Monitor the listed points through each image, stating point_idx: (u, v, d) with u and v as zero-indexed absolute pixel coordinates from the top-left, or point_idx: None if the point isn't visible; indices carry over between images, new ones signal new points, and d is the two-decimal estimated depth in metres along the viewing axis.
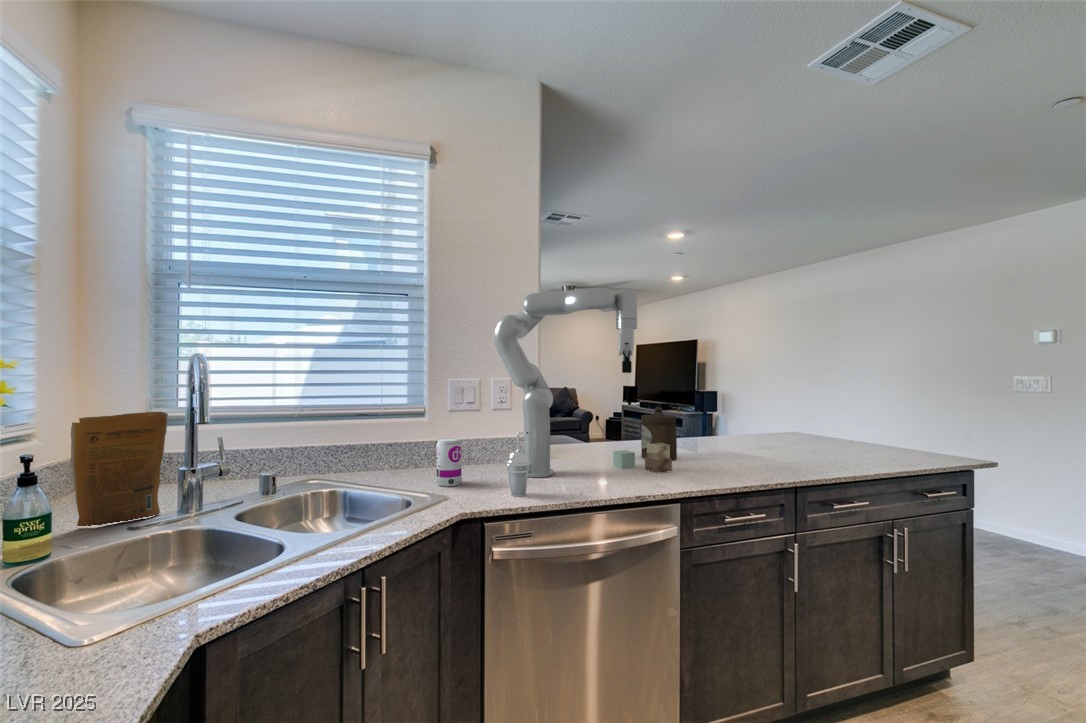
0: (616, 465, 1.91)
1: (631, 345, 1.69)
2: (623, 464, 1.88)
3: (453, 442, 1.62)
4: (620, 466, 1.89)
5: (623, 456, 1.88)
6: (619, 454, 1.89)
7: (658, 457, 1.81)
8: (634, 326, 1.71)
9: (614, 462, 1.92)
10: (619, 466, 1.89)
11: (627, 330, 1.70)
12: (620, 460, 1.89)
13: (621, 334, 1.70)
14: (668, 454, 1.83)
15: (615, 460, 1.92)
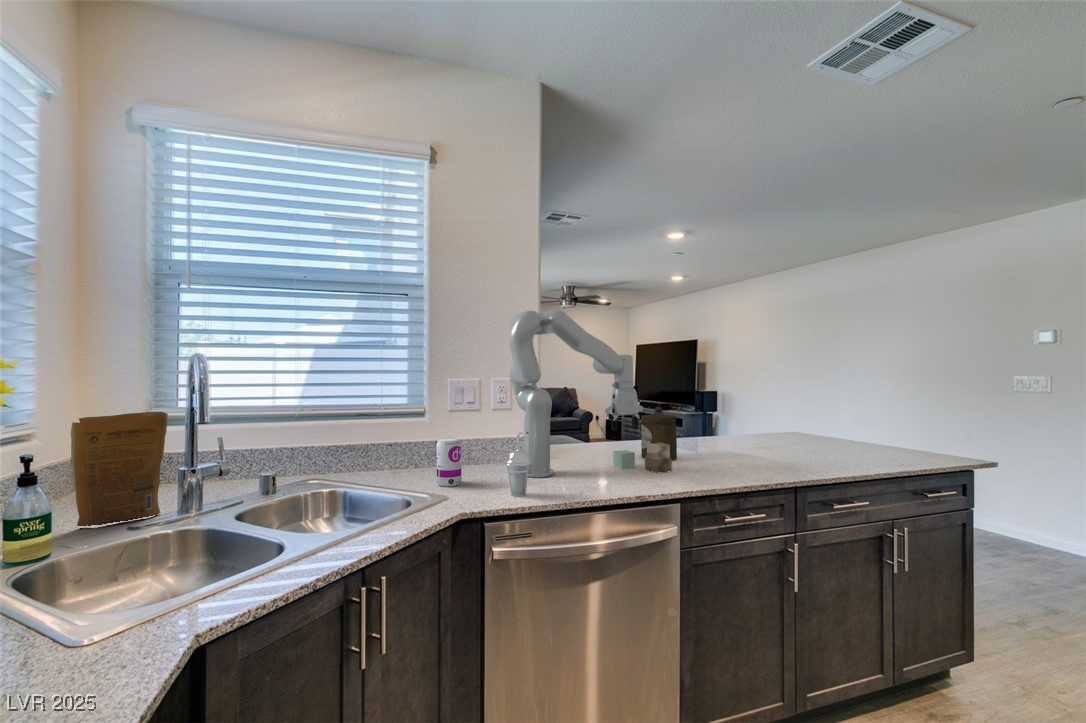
0: (616, 465, 1.91)
1: None
2: (623, 464, 1.88)
3: (453, 442, 1.62)
4: (620, 466, 1.89)
5: (623, 456, 1.88)
6: (619, 454, 1.89)
7: (658, 457, 1.81)
8: None
9: (614, 462, 1.92)
10: (619, 466, 1.89)
11: None
12: (620, 460, 1.89)
13: None
14: (668, 454, 1.83)
15: (615, 460, 1.92)
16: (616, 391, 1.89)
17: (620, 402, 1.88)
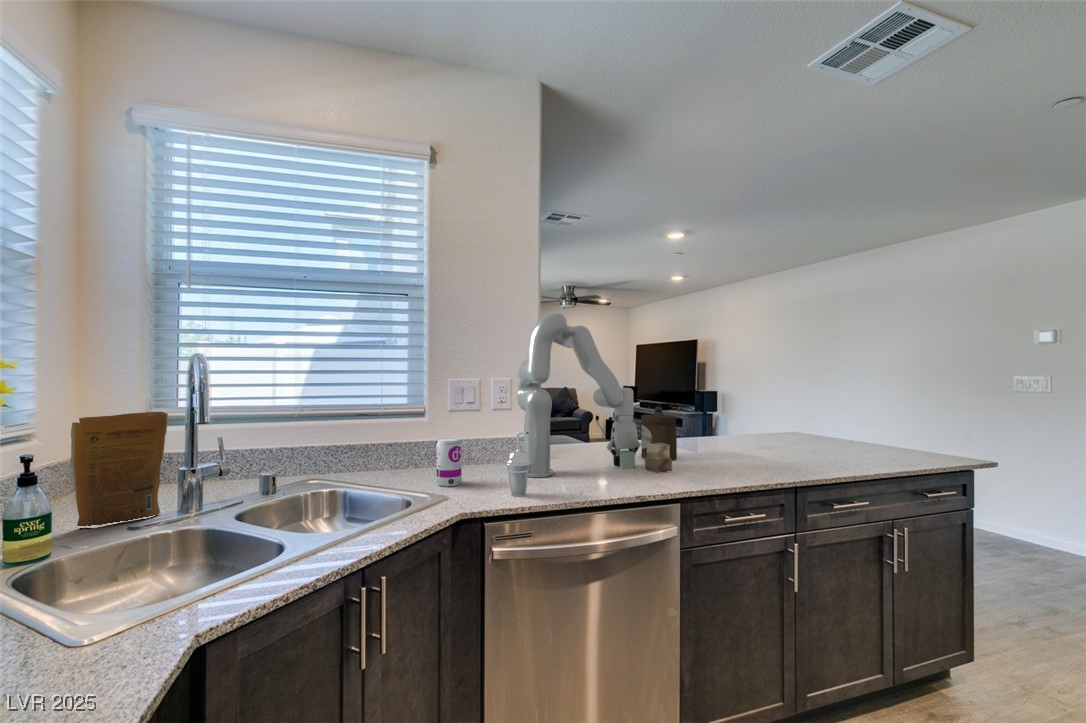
0: None
1: None
2: (623, 464, 1.88)
3: (453, 442, 1.62)
4: (620, 466, 1.89)
5: (623, 456, 1.88)
6: (619, 454, 1.89)
7: (658, 457, 1.81)
8: None
9: None
10: (619, 466, 1.89)
11: None
12: (620, 459, 1.89)
13: None
14: (668, 454, 1.84)
15: None
16: (616, 425, 1.89)
17: (620, 436, 1.88)
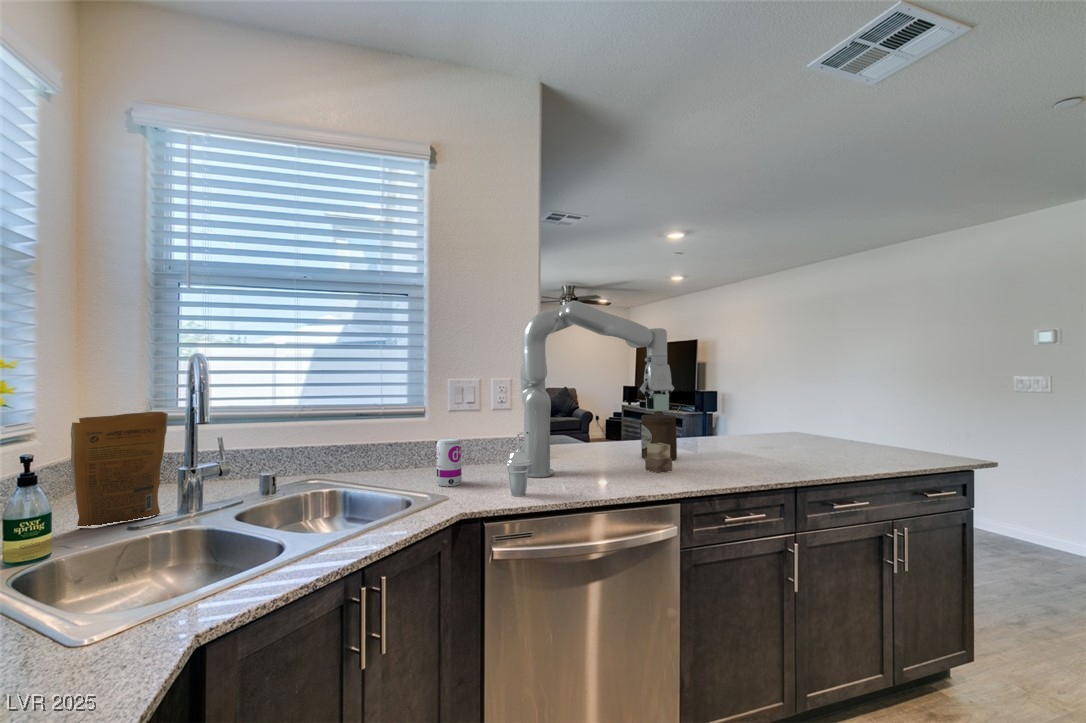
0: None
1: None
2: (657, 406, 1.82)
3: (453, 442, 1.62)
4: (654, 408, 1.82)
5: (657, 398, 1.82)
6: (653, 396, 1.83)
7: (658, 457, 1.81)
8: None
9: None
10: (652, 409, 1.83)
11: None
12: (654, 401, 1.82)
13: None
14: (668, 454, 1.83)
15: None
16: (649, 365, 1.82)
17: (653, 377, 1.82)
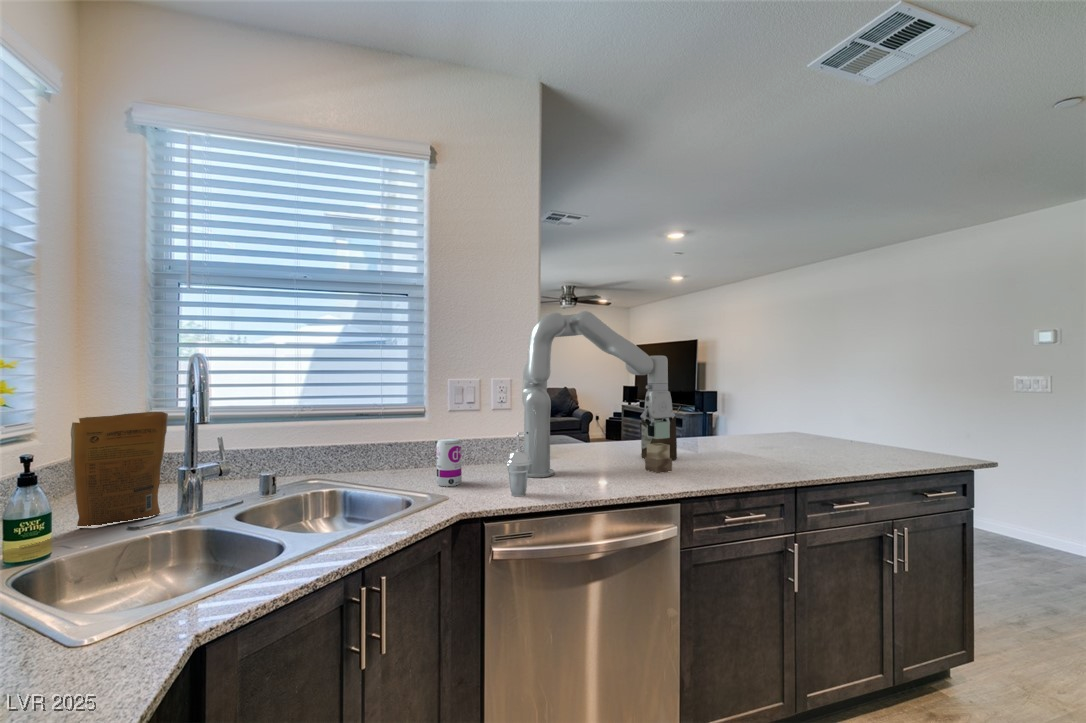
0: None
1: None
2: (658, 434, 1.81)
3: (453, 442, 1.62)
4: (655, 436, 1.82)
5: (658, 426, 1.82)
6: (653, 423, 1.83)
7: (658, 457, 1.81)
8: None
9: None
10: None
11: None
12: (654, 429, 1.82)
13: None
14: (668, 454, 1.83)
15: None
16: (650, 393, 1.82)
17: (654, 405, 1.81)
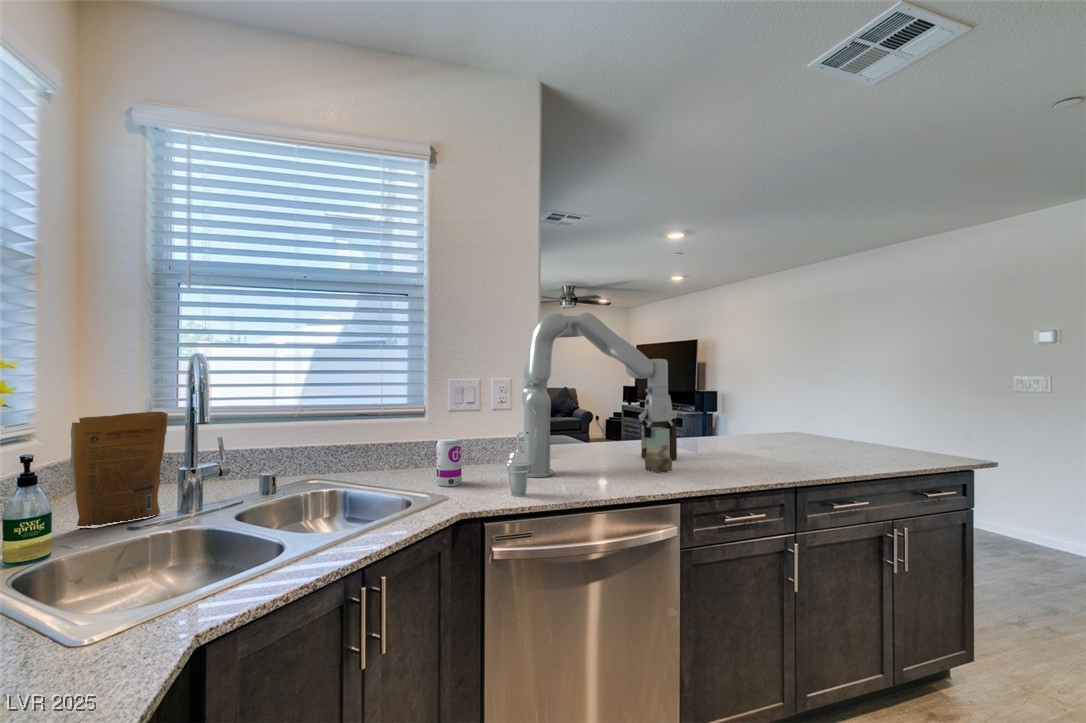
0: (650, 442, 1.85)
1: None
2: (657, 441, 1.81)
3: (453, 442, 1.62)
4: (654, 443, 1.82)
5: (658, 433, 1.81)
6: (653, 430, 1.83)
7: (658, 457, 1.81)
8: None
9: (648, 439, 1.86)
10: (653, 443, 1.83)
11: None
12: (654, 436, 1.82)
13: None
14: (668, 454, 1.83)
15: None
16: (650, 397, 1.82)
17: (654, 408, 1.81)
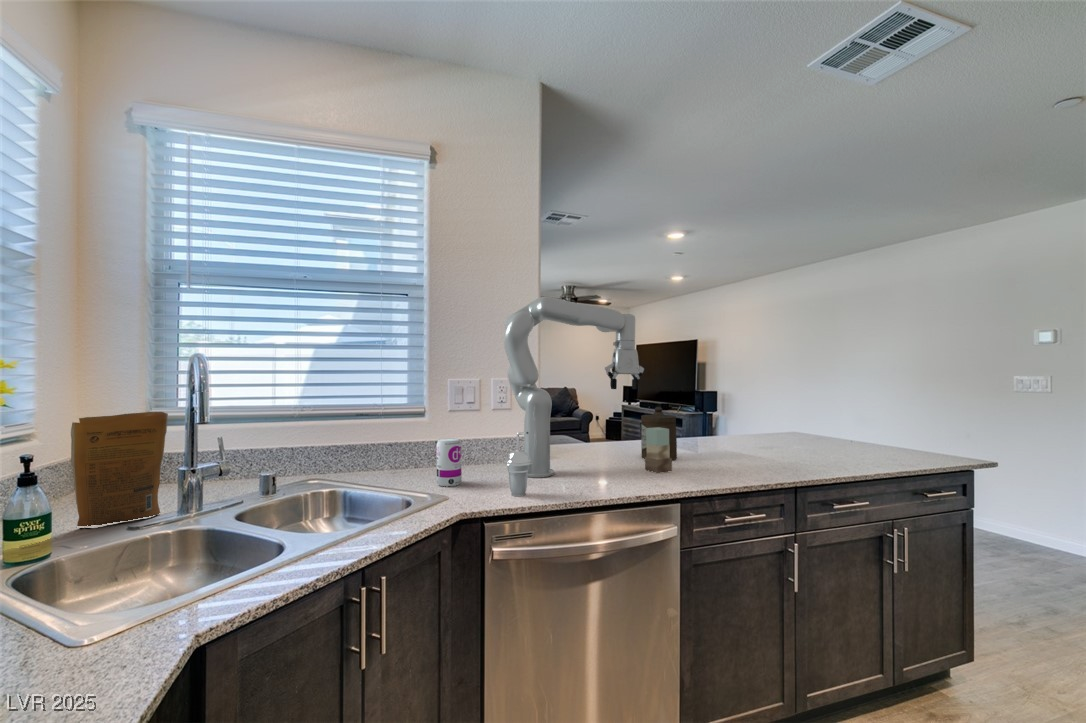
0: (650, 442, 1.84)
1: None
2: (657, 441, 1.81)
3: (453, 442, 1.62)
4: (654, 443, 1.82)
5: (658, 433, 1.81)
6: (653, 430, 1.82)
7: (659, 457, 1.81)
8: None
9: (647, 439, 1.86)
10: (653, 443, 1.83)
11: None
12: (654, 436, 1.82)
13: None
14: (668, 454, 1.83)
15: (648, 437, 1.85)
16: (617, 349, 1.89)
17: (620, 360, 1.88)
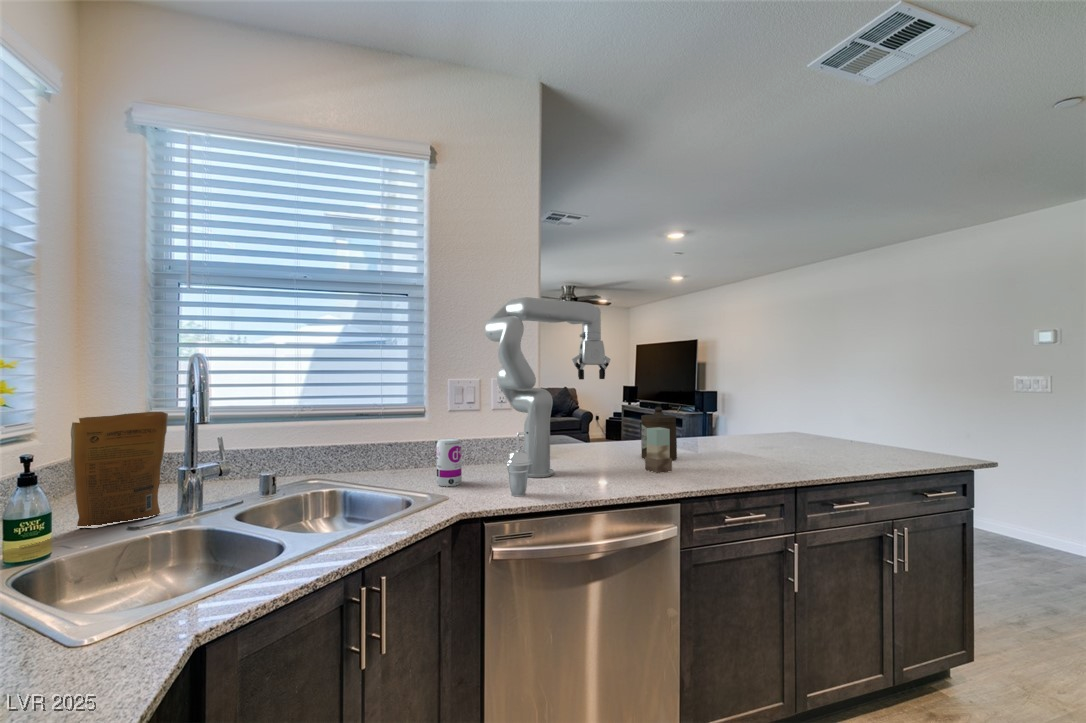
0: (650, 442, 1.84)
1: None
2: (657, 441, 1.81)
3: (453, 442, 1.62)
4: (654, 443, 1.82)
5: (658, 433, 1.81)
6: (653, 430, 1.82)
7: (658, 457, 1.81)
8: None
9: (648, 439, 1.86)
10: (653, 443, 1.83)
11: None
12: (654, 436, 1.82)
13: None
14: (668, 454, 1.83)
15: (649, 437, 1.85)
16: (583, 341, 1.96)
17: (587, 351, 1.95)
